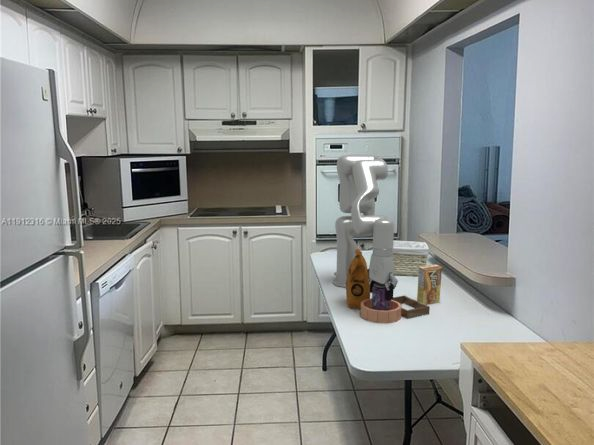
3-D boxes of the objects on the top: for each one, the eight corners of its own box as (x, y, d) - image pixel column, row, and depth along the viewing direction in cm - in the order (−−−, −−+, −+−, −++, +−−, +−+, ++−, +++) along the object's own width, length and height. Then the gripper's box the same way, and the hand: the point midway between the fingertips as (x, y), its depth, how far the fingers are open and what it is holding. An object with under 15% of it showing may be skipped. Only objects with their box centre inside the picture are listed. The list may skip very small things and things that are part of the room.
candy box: (433, 299, 209) (435, 264, 206) (440, 302, 205) (442, 266, 202) (416, 302, 205) (418, 266, 202) (423, 305, 201) (425, 268, 198)
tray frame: (382, 306, 200) (382, 299, 199) (404, 302, 205) (404, 295, 204) (406, 318, 187) (407, 311, 186) (429, 314, 192) (429, 306, 191)
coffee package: (343, 308, 197) (345, 254, 193) (346, 298, 209) (347, 247, 205) (369, 310, 195) (371, 256, 191) (370, 300, 207) (372, 248, 203)
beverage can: (369, 311, 192) (370, 281, 190) (387, 311, 193) (388, 281, 191) (373, 318, 185) (374, 287, 183) (392, 317, 186) (393, 287, 184)
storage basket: (424, 269, 256) (425, 241, 253) (428, 277, 240) (429, 248, 238) (377, 267, 259) (378, 239, 257) (378, 275, 243) (379, 246, 241)
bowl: (352, 312, 193) (353, 301, 192) (384, 306, 199) (384, 295, 199) (376, 325, 180) (376, 313, 179) (408, 319, 186) (409, 307, 186)
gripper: (361, 248, 191) (359, 290, 194) (389, 258, 176) (387, 304, 179) (377, 246, 194) (375, 288, 197) (405, 256, 179) (403, 301, 182)
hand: (381, 295), depth 188 cm, fingers open, 9 cm apart
